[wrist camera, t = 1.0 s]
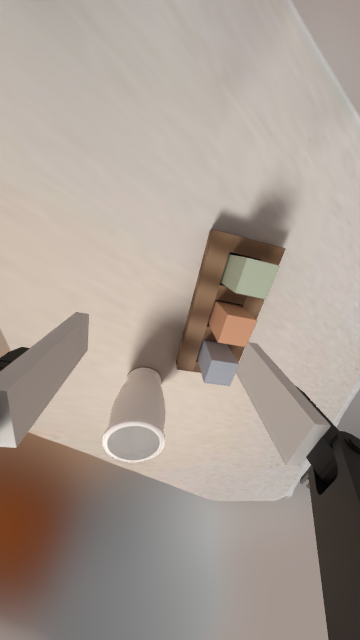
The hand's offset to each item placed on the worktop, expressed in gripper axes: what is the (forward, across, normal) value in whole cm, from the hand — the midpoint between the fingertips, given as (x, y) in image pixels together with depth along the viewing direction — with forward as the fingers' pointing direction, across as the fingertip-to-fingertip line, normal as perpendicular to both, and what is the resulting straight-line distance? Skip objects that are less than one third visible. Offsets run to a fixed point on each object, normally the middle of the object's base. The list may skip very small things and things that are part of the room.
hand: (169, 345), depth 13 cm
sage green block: (+22, +12, +5) cm, 25 cm away
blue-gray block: (+22, +12, -12) cm, 28 cm away
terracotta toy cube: (+22, +12, -4) cm, 25 cm away
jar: (+24, -1, -25) cm, 35 cm away
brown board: (+24, +12, -4) cm, 27 cm away
